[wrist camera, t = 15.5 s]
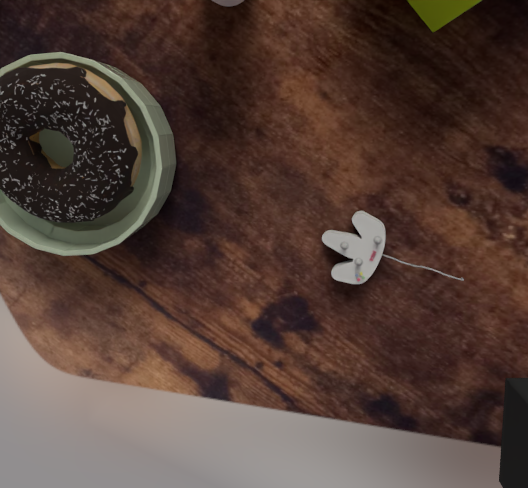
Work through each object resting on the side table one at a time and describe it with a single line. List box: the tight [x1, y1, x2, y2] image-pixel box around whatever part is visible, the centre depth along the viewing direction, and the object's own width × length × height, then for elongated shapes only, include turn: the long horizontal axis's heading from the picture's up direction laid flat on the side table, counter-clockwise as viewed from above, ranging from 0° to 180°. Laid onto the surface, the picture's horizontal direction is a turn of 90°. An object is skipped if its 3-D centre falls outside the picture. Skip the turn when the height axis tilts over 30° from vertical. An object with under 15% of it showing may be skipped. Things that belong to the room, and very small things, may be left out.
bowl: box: [0, 52, 176, 256], centre depth 37 cm, size 14×14×5 cm
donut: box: [0, 63, 142, 223], centre depth 34 cm, size 11×12×4 cm
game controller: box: [322, 211, 464, 284], centre depth 38 cm, size 6×12×3 cm, turn 90°
